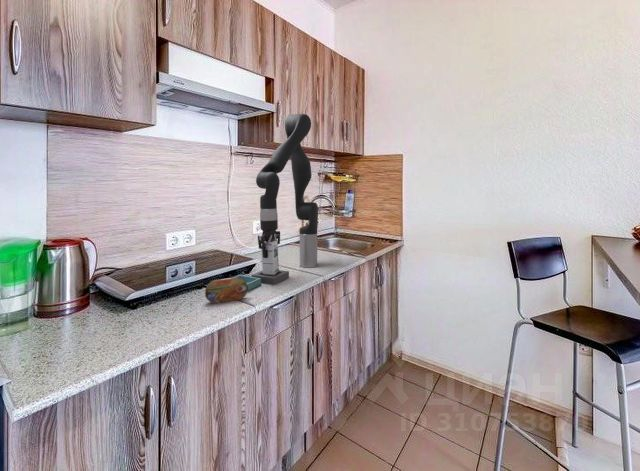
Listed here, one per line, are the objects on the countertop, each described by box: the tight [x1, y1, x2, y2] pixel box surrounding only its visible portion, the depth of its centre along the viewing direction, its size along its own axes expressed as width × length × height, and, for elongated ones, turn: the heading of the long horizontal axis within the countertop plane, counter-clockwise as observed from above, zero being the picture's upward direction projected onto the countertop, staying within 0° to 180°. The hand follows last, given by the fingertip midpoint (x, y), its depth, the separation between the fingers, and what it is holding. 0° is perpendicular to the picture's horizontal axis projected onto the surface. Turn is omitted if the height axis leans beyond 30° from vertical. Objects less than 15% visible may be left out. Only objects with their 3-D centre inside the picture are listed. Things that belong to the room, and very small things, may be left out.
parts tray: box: [232, 274, 262, 293], centre depth 129 cm, size 12×12×3 cm
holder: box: [250, 269, 290, 286], centre depth 140 cm, size 12×12×3 cm
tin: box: [204, 276, 249, 304], centre depth 114 cm, size 15×3×8 cm, turn 114°
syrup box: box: [260, 240, 280, 275], centre depth 138 cm, size 6×6×14 cm
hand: (270, 256), depth 138 cm, fingers closed on syrup box, 6 cm apart
